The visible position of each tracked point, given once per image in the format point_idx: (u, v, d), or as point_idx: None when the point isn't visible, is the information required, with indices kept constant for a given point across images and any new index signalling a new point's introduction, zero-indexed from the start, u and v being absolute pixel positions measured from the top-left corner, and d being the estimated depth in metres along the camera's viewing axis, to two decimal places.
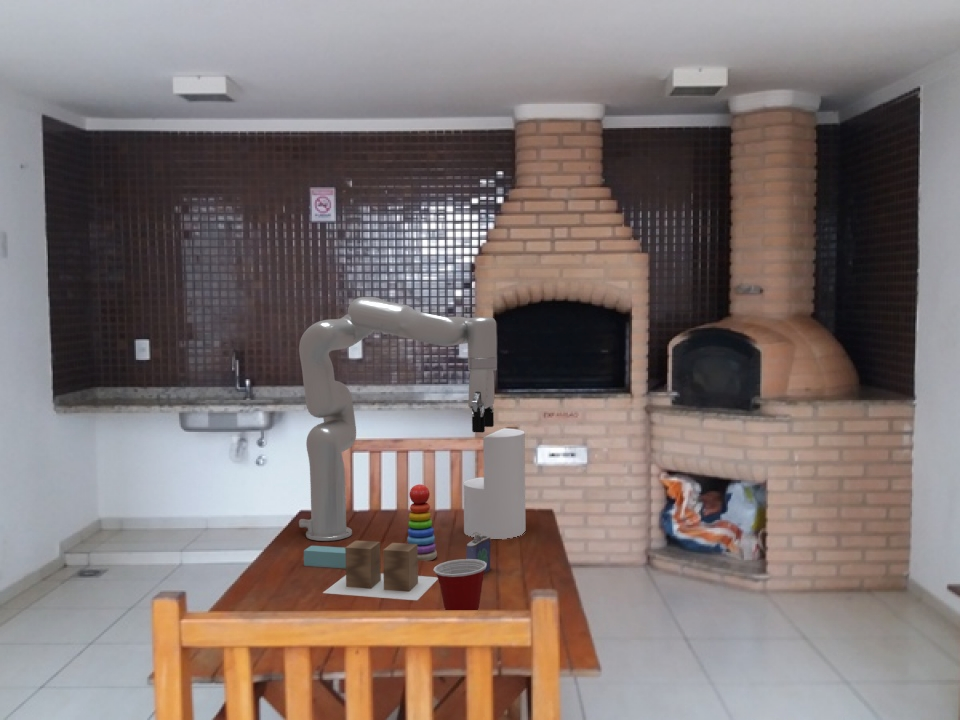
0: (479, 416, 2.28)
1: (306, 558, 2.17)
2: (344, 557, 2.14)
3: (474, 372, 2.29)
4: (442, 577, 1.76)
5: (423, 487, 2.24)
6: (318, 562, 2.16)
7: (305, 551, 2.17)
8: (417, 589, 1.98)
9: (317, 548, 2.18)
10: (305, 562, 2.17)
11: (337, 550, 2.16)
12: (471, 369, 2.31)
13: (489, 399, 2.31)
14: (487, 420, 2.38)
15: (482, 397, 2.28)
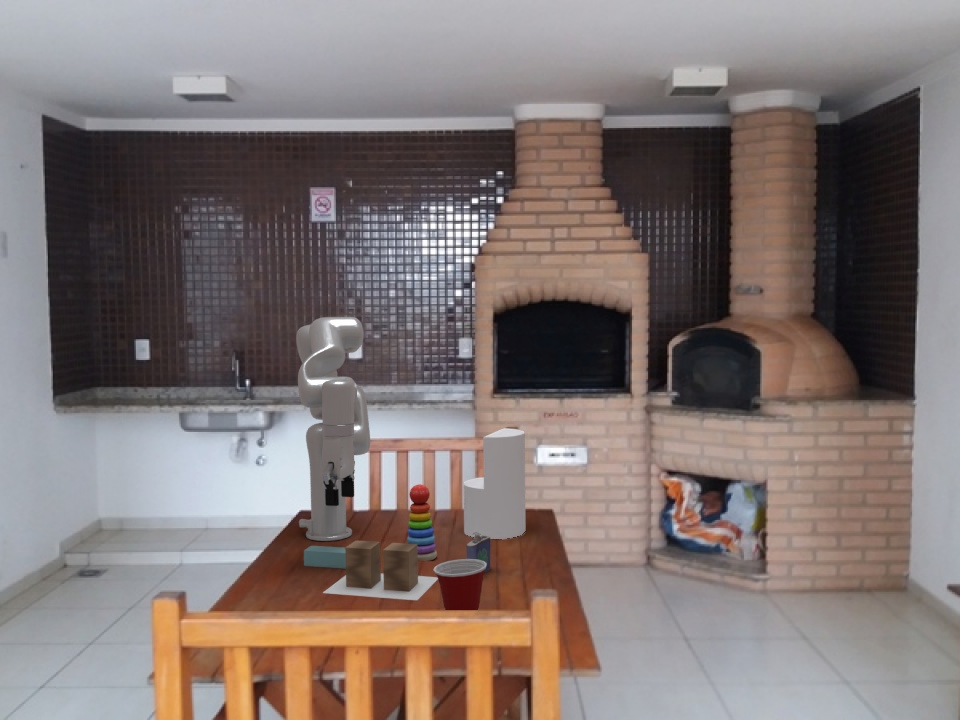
0: (332, 489, 2.10)
1: (306, 558, 2.17)
2: (344, 557, 2.14)
3: (327, 440, 2.11)
4: (442, 577, 1.76)
5: (423, 487, 2.24)
6: (318, 562, 2.16)
7: (305, 551, 2.17)
8: (417, 589, 1.98)
9: (317, 548, 2.18)
10: (305, 562, 2.17)
11: (337, 550, 2.16)
12: (325, 437, 2.13)
13: (345, 469, 2.13)
14: (347, 490, 2.20)
15: (335, 468, 2.11)
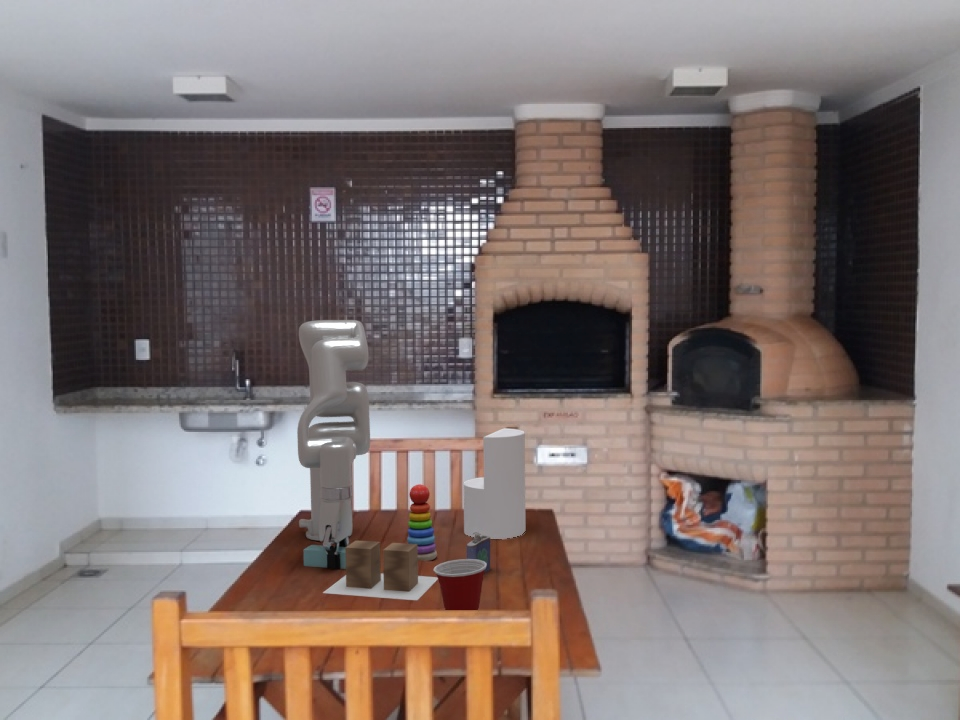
0: (334, 555, 2.13)
1: (306, 557, 2.17)
2: (344, 556, 2.14)
3: (325, 504, 2.12)
4: (442, 577, 1.76)
5: (423, 487, 2.24)
6: (318, 561, 2.16)
7: (305, 550, 2.17)
8: (417, 589, 1.98)
9: (317, 547, 2.18)
10: (305, 561, 2.17)
11: None
12: (323, 499, 2.13)
13: (342, 531, 2.14)
14: None
15: (333, 531, 2.11)
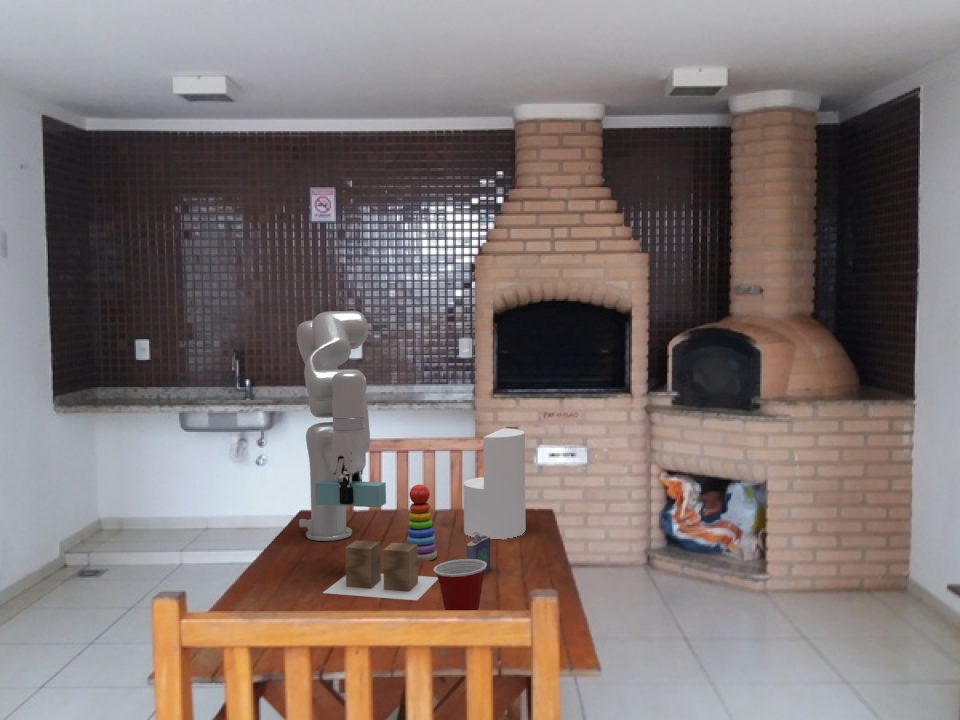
0: (346, 487, 2.06)
1: (318, 491, 2.10)
2: (357, 489, 2.07)
3: (337, 434, 2.05)
4: (442, 577, 1.76)
5: (423, 487, 2.24)
6: (330, 495, 2.09)
7: (317, 484, 2.10)
8: (417, 589, 1.98)
9: (329, 482, 2.12)
10: (317, 495, 2.10)
11: None
12: (335, 430, 2.07)
13: (355, 464, 2.07)
14: None
15: (345, 462, 2.05)
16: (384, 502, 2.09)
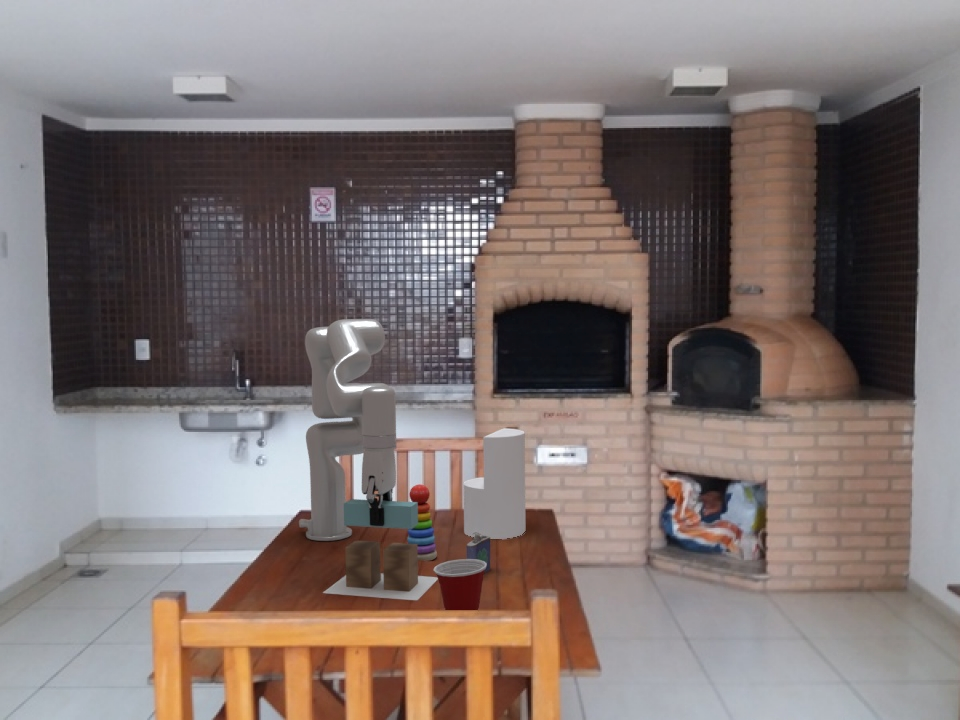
0: (377, 508, 1.97)
1: (346, 511, 2.00)
2: (388, 510, 1.97)
3: (368, 453, 1.95)
4: (442, 577, 1.76)
5: (423, 487, 2.24)
6: (360, 515, 1.99)
7: (345, 504, 2.00)
8: (417, 589, 1.98)
9: (358, 501, 2.02)
10: (345, 516, 2.00)
11: None
12: (365, 448, 1.97)
13: (386, 483, 1.97)
14: None
15: (377, 482, 1.95)
16: (416, 523, 2.00)
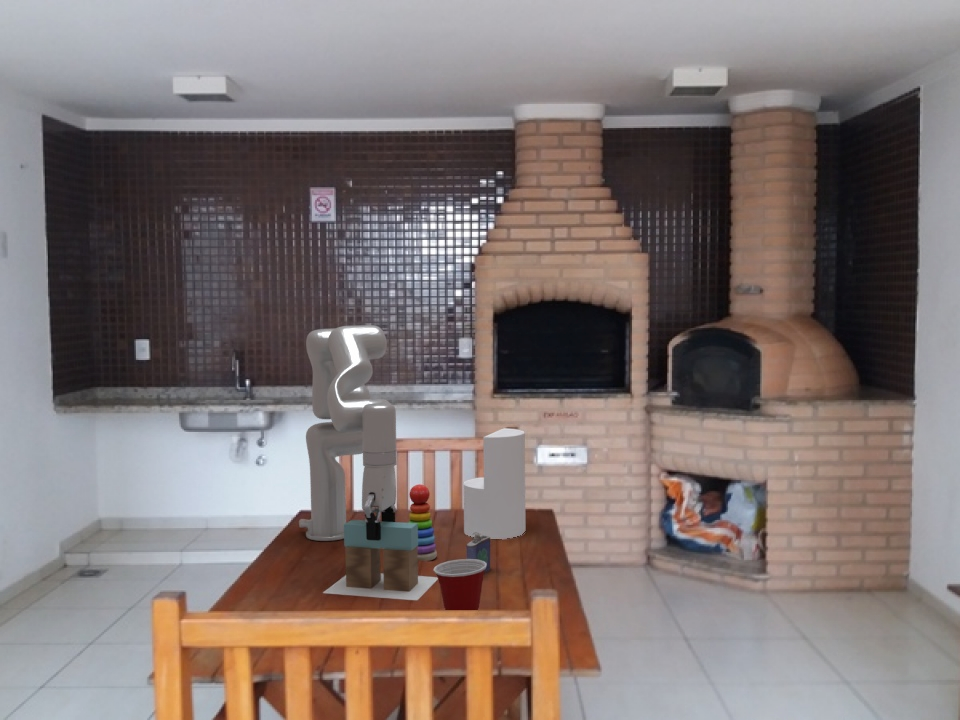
0: (374, 522, 1.95)
1: (346, 533, 2.00)
2: (388, 531, 1.98)
3: (368, 469, 1.96)
4: (442, 577, 1.76)
5: (423, 487, 2.24)
6: (360, 537, 2.00)
7: (345, 525, 2.00)
8: (417, 589, 1.98)
9: (358, 522, 2.02)
10: (345, 537, 2.01)
11: None
12: (365, 465, 1.97)
13: (387, 500, 1.98)
14: None
15: (377, 499, 1.95)
16: (416, 544, 2.00)
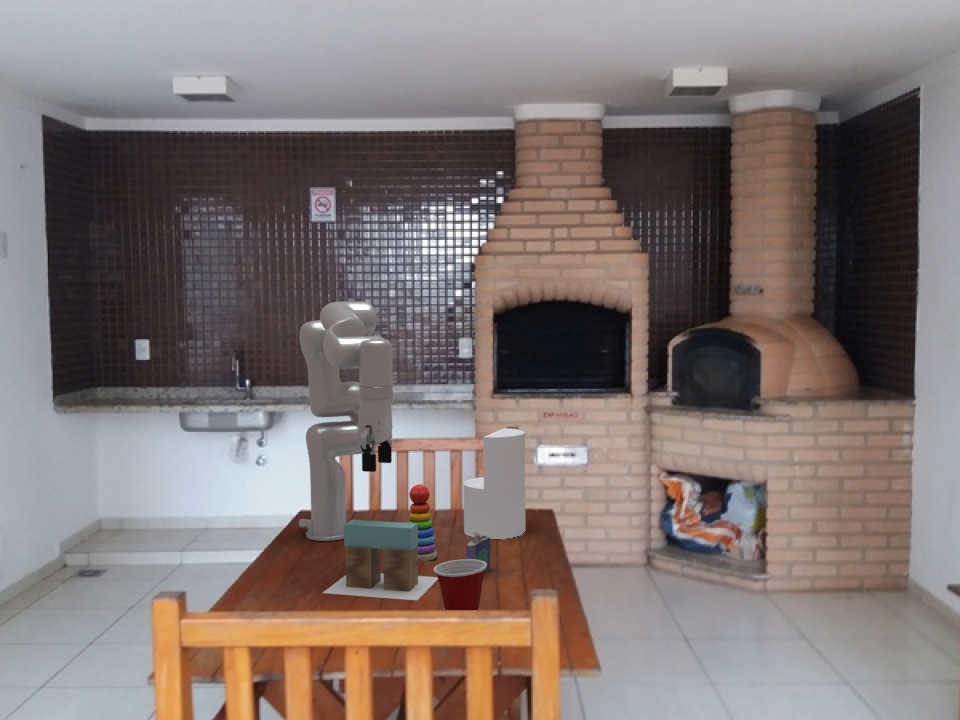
0: (369, 453, 1.99)
1: (346, 533, 2.00)
2: (388, 531, 1.98)
3: (364, 403, 2.00)
4: (442, 577, 1.76)
5: (423, 487, 2.24)
6: (360, 537, 2.00)
7: (345, 525, 2.00)
8: (417, 589, 1.98)
9: (358, 522, 2.02)
10: (345, 537, 2.01)
11: (379, 524, 2.00)
12: (362, 399, 2.02)
13: (383, 433, 2.02)
14: (384, 455, 2.10)
15: (373, 432, 2.00)
16: (416, 544, 2.00)
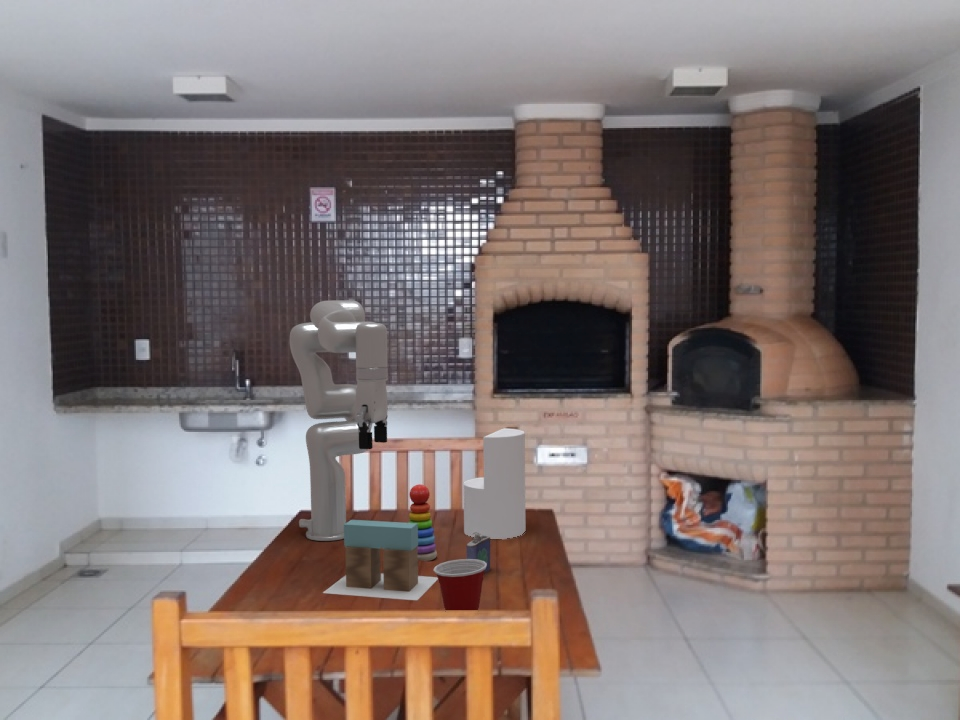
0: (366, 431, 2.08)
1: (346, 533, 2.00)
2: (388, 531, 1.98)
3: (361, 383, 2.10)
4: (442, 577, 1.76)
5: (423, 487, 2.24)
6: (360, 537, 2.00)
7: (345, 525, 2.00)
8: (417, 589, 1.98)
9: (358, 522, 2.02)
10: (345, 537, 2.01)
11: (379, 524, 2.00)
12: (358, 380, 2.11)
13: (378, 413, 2.12)
14: (380, 435, 2.19)
15: (369, 411, 2.09)
16: (416, 544, 2.00)
